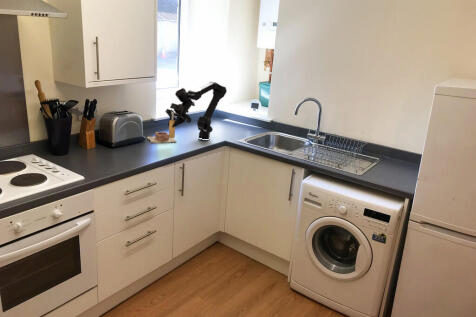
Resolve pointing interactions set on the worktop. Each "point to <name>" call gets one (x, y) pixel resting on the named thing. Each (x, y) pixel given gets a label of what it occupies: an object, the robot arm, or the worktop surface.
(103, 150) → the worktop surface
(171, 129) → the orange tapered piece
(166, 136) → the beige board with box
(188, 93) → the robot arm
